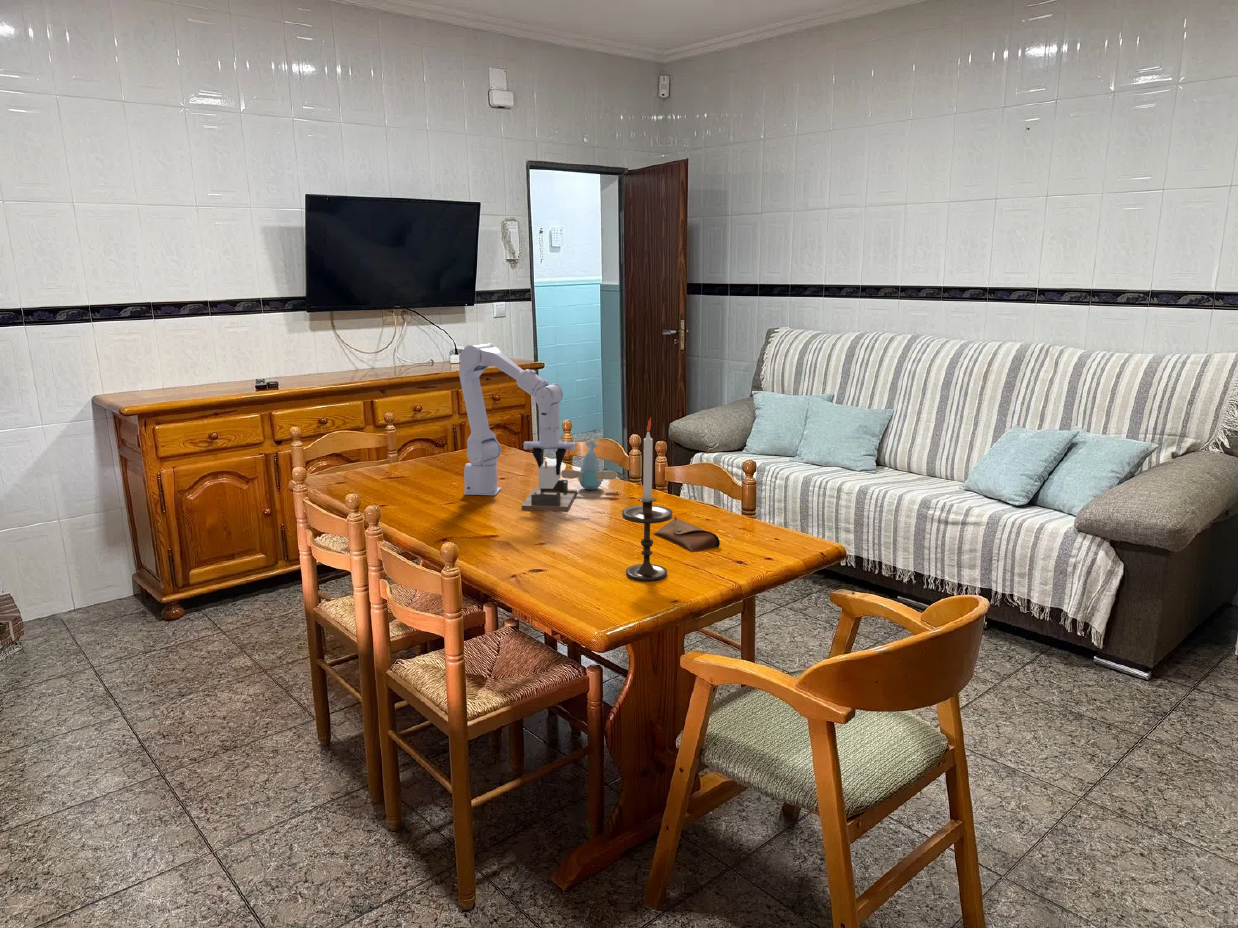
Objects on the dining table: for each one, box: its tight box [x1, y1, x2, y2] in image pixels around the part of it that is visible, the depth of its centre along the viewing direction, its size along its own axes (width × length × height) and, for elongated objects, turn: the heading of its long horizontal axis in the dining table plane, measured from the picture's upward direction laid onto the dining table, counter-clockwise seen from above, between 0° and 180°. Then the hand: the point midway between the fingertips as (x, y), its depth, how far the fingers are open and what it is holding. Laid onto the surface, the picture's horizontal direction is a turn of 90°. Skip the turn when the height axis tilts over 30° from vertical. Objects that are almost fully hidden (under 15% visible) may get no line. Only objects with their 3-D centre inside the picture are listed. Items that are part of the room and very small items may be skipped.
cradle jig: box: [521, 479, 578, 512], centre depth 247 cm, size 19×13×4 cm
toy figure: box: [560, 438, 619, 491], centre depth 260 cm, size 17×10×15 cm, turn 84°
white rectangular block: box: [537, 458, 562, 489], centre depth 245 cm, size 14×4×8 cm, turn 175°
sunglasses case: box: [652, 516, 721, 553], centre depth 213 cm, size 18×7×7 cm
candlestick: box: [621, 417, 673, 583], centre depth 185 cm, size 11×11×35 cm
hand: (549, 474), depth 246 cm, fingers closed on white rectangular block, 4 cm apart
